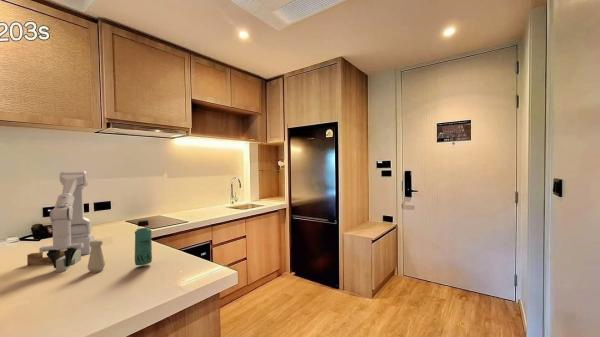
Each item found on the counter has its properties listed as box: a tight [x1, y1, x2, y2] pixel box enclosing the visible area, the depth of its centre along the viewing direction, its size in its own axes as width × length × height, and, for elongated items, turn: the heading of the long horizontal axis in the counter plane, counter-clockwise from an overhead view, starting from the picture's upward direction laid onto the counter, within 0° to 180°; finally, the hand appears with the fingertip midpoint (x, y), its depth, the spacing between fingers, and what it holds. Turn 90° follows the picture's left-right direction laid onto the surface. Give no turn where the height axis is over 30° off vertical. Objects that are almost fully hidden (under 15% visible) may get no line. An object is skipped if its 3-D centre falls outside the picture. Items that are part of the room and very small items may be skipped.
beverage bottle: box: [134, 219, 153, 266], centre depth 111 cm, size 6×7×20 cm
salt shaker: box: [87, 238, 106, 274], centre depth 107 cm, size 6×6×13 cm
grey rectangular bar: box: [55, 250, 82, 273], centre depth 115 cm, size 15×2×5 cm, turn 18°
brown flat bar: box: [26, 249, 67, 267], centre depth 120 cm, size 14×2×5 cm, turn 108°
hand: (62, 266), depth 110 cm, fingers open, 3 cm apart
